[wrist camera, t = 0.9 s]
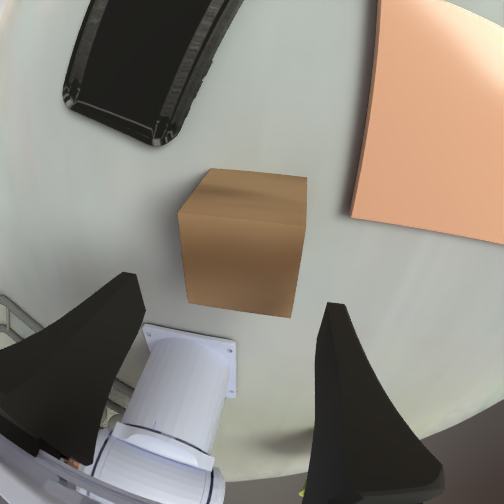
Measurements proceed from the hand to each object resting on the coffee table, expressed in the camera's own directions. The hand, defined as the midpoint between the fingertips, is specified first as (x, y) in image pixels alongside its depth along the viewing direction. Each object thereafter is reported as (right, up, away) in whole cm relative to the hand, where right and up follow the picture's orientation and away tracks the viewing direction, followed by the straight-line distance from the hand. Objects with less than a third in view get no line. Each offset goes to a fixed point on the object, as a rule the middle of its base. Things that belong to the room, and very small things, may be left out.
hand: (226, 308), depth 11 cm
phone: (-3, +15, 0) cm, 15 cm away
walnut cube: (+1, +4, +6) cm, 7 cm away
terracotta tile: (+12, +8, 0) cm, 15 cm away
